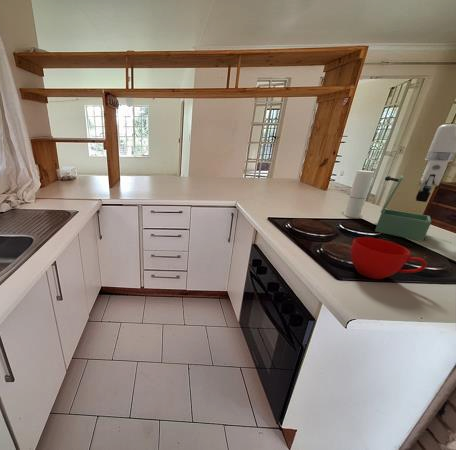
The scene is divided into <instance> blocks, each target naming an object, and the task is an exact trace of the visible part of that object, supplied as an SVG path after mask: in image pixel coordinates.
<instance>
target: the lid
mask: <svg viewBox="0 0 456 450" xmlns="http://www.w3.org/2000/svg"><path fill="white" fill-rule="evenodd" d="M404 176H405V175H403V174H401V175H400V176H399V178H397V177H392V176H391V175H387V176H386V177H384V180H385V181H386V182H388V181H392V182H395V183H396V184H395V185H394V187H393V188H392V191H391V192H390V194H389V196H388V197H387V199H386V201H385V203H384V204H383V205H382V208H381V210H380V213H383V212H384V210H385V209H387V207H388V205H389V203H390V202H391V199H392V198H393V196H394V194H395V193H396V191H397V189H398V188H399V186H400V184H401V183H402V181H403V180H404Z"/></svg>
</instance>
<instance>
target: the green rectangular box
mask: <svg viewBox="0 0 456 450" xmlns="http://www.w3.org/2000/svg"><path fill="white" fill-rule="evenodd" d="M380 213H381V212H380ZM431 224H432V219H431V216H430V215H426V214H421V213H414V212H408V211H402V210H396V209H395V210H394V209H388V208H385V210H384V212H383V213H381V214H380V216H379V218H378V221H377V224H376V227H375V229H374V232H375V233H381V234H384V235H389V236H390V235H391V236H394V237H395V236H396V237H400V238H404V239H408V240H414V241H418V242H424V240H425V237H426V235H427V233H428V230H429V228H430V226H431Z"/></svg>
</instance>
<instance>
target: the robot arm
mask: <svg viewBox="0 0 456 450" xmlns="http://www.w3.org/2000/svg"><path fill="white" fill-rule="evenodd" d="M455 156H456V123H447V124H446V123H445V124H442V125H440V126H439V127H437V129H436V132H435V134H434V136H433V139H432V141H431V144H430V146H429V148H428V151H427V153H426V156H425V158H424V160H425V161H427V164H426V165H425V166H426V167H425V168H424V171H423V173H422V177H421V181H420V183H421V186H420V188H419V190H418V191H417V194H416V197H415V201H416V202H422V203H426V202H428V200H429V198H430V195H431V191H432V189H433V187H434V186H435V187H438V186H439V185H440V184H441V181H442V178H443V176H444V173H445V171H446V169H447V166H448V162H453V161H454V158H455Z"/></svg>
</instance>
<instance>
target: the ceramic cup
mask: <svg viewBox="0 0 456 450" xmlns="http://www.w3.org/2000/svg"><path fill="white" fill-rule="evenodd" d="M410 255H411V251H410V250H409V249H408V248H406V247H405V246H402V245H400V244H398V243H394V242H392V241H389V240H384V239H380V238H375V237H368V236H367V237H366V236H365V237H364V236H361V237H355V238H354V239H353V241H352V244H351V249H350V259H351V262H352V265H353V267H354V269H355V270H356V272H357V273H359V274H360V275H362V276H364V277H366V278H370V279H374V280H383V279H385V278H388V277H391V276H393V275H395V274H396V273H403V274H404V273H406V274H407V273H408V274H409V273H411V274H412V273H413V274H414V273H418V272H421V271H423V270H425V269H426V268H427V266H428V265H427V261H426V260H425V259H423V258H421V257H416V256H410ZM411 261H418V262H421V263H422V265H421V266H420V267H418V268H413V269H403V266H404V265H406V264H407V263H408V262H411Z"/></svg>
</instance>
